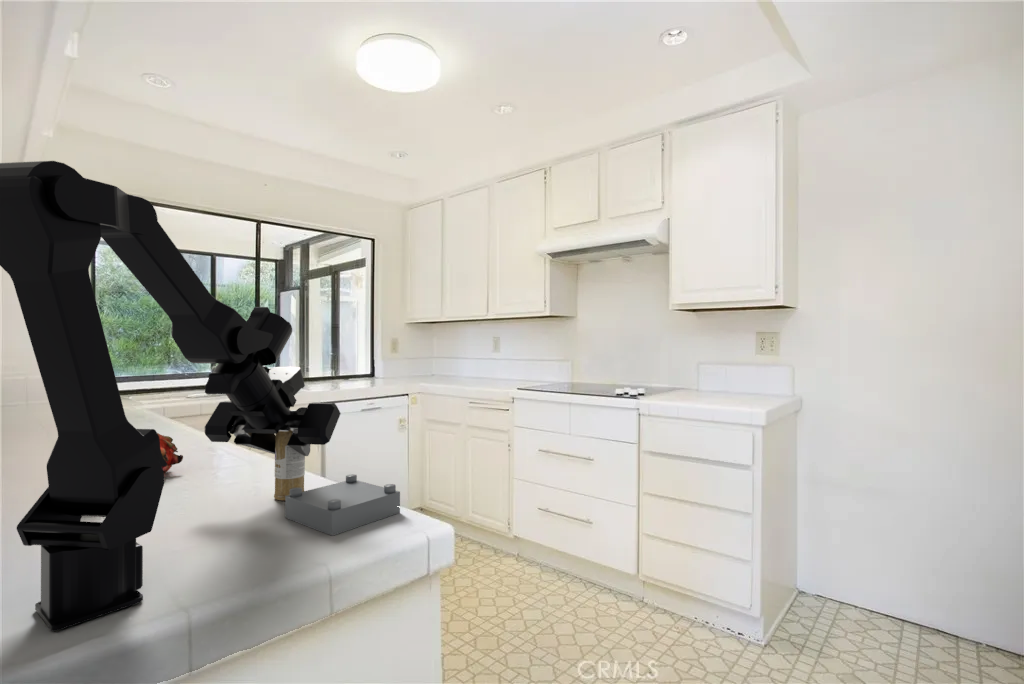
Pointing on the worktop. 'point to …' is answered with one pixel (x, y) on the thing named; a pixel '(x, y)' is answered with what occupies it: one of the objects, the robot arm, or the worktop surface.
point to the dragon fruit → (169, 452)
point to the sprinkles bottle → (287, 466)
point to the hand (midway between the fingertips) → (294, 453)
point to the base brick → (342, 505)
